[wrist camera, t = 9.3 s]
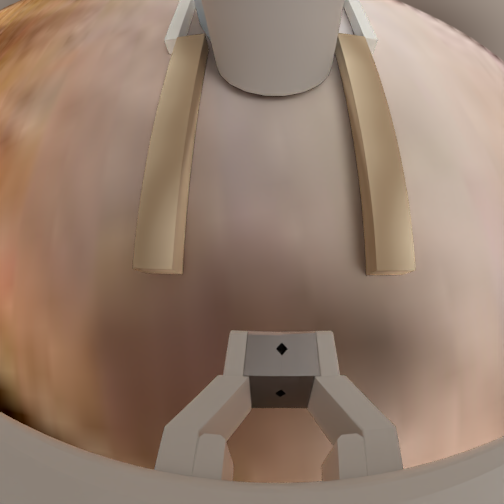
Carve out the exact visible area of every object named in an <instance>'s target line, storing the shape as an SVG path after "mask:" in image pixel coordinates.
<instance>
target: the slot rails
mask: <svg viewBox="0 0 504 504" xmlns="http://www.w3.org/2000/svg"><path fill="white" fill-rule="evenodd" d="M208 51H209V48H208V44H207V40H206V36H205V34H197V35H189V36H182V37H177V39H176V42H175V45H174V49H173V52H172V55H171V59H170V62H169V65H168V69H167V72H166V76H165V80H164V83H163V87H162V91H161V95H160V99H159V103H158V107H157V112H156V116H155V120H154V125H153V129H152V134H151V139H150V144H149V149H148V154H147V160H146V165H145V171H144V177H143V183H142V189H141V196H140V203H139V210H138V218H137V226H136V235H135V244H134V254H133V266H132V268H133V269H136V270H138V271H141V272H144V273H156V274H182V272H183V255H184V240H185V227H186V215H187V204H188V193H189V183H190V174H191V165H192V156H193V148H194V140H195V132H196V125H197V118H198V111H199V104H200V98H201V91H202V85H203V79H204V73H205V67H206V62H207V56H208ZM335 54H336V58H337V62H338V66H339V70H340V74H341V79H342V83H343V88H344V93H345V97H346V102H347V108H348V113H349V118H350V124H351V130H352V136H353V142H354V148H355V155H356V162H357V170H358V177H359V186H360V195H361V204H362V215H363V227H364V241H365V258H366V275H403V274H406V273H409V272H412V271H414V270H416V268H415V254H414V243H413V233H412V224H411V216H410V209H409V202H408V195H407V189H406V183H405V177H404V172H403V167H402V162H401V157H400V152H399V147H398V143H397V139H396V134H395V130H394V126H393V122H392V118H391V114H390V111H389V107H388V104H387V100H386V97H385V93H384V90H383V87H382V84H381V80H380V77H379V74H378V71H377V68H376V65H375V62H374V60H373V57H372V54H371V51H370V49H369V46H368V43H367V41H366V38H365V37H364V36H358V35H350V34H342V33H338V37H337V43H336V48H335Z"/></svg>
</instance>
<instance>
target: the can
mask: <svg viewBox="0 0 504 504" xmlns="http://www.w3.org/2000/svg"><path fill="white" fill-rule="evenodd" d="M201 1H202V5H203V9H204V14H205V18H206V22H207V27H208V31H209V35H210V40H211V44H212V49H213V53H214V57H215V62H216V65H217V68H218V71H219V73H220V75H221V76H222V77H223V78H224V79H225V80H226V81H227V82H228V83H229V84H231V85H233V86H235V87H237V88H239V89H241V90H243V91H245V92H250V93H255V94H260V95H264V96H287V95H291V94H296V93H302V92H305V91H307V90H310V89H312V88H314V87H316V86H318V85H320V84H321V83H322V82H323V81H324V80H325V79H326V78H327V77H328V76H329V73H330V70H331V67H332V63H333V58H334V53H335V48H336V43H337V37H338V32H339V27H340V21H341V16H342V10H343V4H344V0H201Z"/></svg>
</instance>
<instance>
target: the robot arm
mask: <svg viewBox="0 0 504 504" xmlns="http://www.w3.org/2000/svg"><path fill="white" fill-rule="evenodd" d="M279 407H280V408H307V410H308V411H309V413H310V414H311V415H312V417H313V418H314V420H315V421H316V423H317V424H318V425H319V427H320V428H321V430H322V431H323V432H324V434H325V435H326V437H327V438H328V439H329V441H330V442H331V443H332V445H333V448H332V449H331V451H330V453H329V454H328V456H327V457H326V459H325V461H324V462H323V464H322V481H317V482H296V483H260V482H240V481H233V470H234V464H233V461H232V458H231V455H230V452H229V449H228V446H227V440H228V439H229V438H230V437H231V435H232V434H233V433H234V432H235V430H236V429H237V428H238V426H239V425H240V424H241V423H242V421H243V420H244V419H245V417H246V416H247V415H248V413H249V412H250V411H251V408H279ZM0 504H504V436H502V437H500V438H498V439H495V440H493V441H491V442H488V443H486V444H483V445H481V446H478V447H476V448H473V449H470V450H468V451H465V452H462V453H459V454H456V455H453V456H450V457H447V458H444V459H440V460H437V461H434V462H430V463H426V464H423V465H419V466H415V467H411V468H406V469H403V465H402V458H401V453H400V447H399V441H398V436H397V431H396V427H395V426H394V425H393V424H392V423H391V422H390V421H389V420H388V419H387V418H386V417H385V416H384V415H383V414H382V413H381V412H380V411H379V409H378V408H377V407H376V406H375V405H374V404H373V403H372V402H371V401H370V400H369V399H368V398H367V397H366V396H365V395H364V394H363V393H362V392H361V391H360V390H359V389H358V388H357V387H356V386H355V385H354V384H353V383H352V382H351V381H350V380H349V379H348V378H347V377H346V376H345V375H340V371H339V365H338V359H337V352H336V346H335V341H334V335H333V332H332V331H315V332H314V331H286V332H266V331H239V330H231V332H230V334H229V339H228V346H227V352H226V359H225V365H224V372H223V375H217V376H216V377H215V378H214V379H213V380H212V381H211V382H210V383H209V384H208V385H207V386H206V387H205V388H204V389H203V390H202V391H201V392H200V393H199V394H198V395H197V396H196V397H195V398H194V399H193V400H192V401H191V402H190V403H189V404H188V405H187V406H186V407H185V408H184V409H183V410H182V411H181V412H180V413H178V414H177V415H176V416H175V417H174V418H173V419H172V420H171V421H170V422H169V423H168V424H167V425H166V426H165V427H164V431H163V435H162V439H161V443H160V448H159V452H158V456H157V460H156V464H155V469H149V468H145V467H140V466H136V465H132V464H129V463H125V462H121V461H118V460H114V459H111V458H107V457H104V456H101V455H98V454H95V453H92V452H89V451H86V450H83V449H80V448H78V447H75V446H72V445H70V444H67V443H64V442H62V441H59V440H57V439H55V438H52V437H50V436H48V435H45V434H43V433H41V432H39V431H37V430H34V429H32V428H30V427H28V426H26V425H24V424H22V423H20V422H18V421H16V420H14V419H12V418H10V417H9V416H7V415H5V414H3V413H1V412H0Z"/></svg>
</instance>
